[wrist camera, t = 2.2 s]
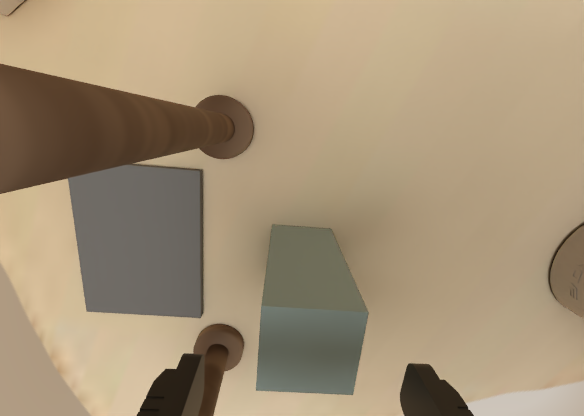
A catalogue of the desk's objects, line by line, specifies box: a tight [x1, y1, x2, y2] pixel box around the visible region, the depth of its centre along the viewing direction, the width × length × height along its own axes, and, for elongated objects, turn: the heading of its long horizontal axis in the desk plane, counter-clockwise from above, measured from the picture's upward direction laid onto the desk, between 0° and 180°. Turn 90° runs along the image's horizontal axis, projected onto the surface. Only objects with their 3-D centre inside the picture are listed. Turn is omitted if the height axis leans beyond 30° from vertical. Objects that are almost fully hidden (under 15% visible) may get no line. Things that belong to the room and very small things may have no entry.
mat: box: [68, 164, 203, 318], centre depth 21 cm, size 9×12×1 cm
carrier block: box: [256, 225, 369, 395], centre depth 17 cm, size 4×4×10 cm
